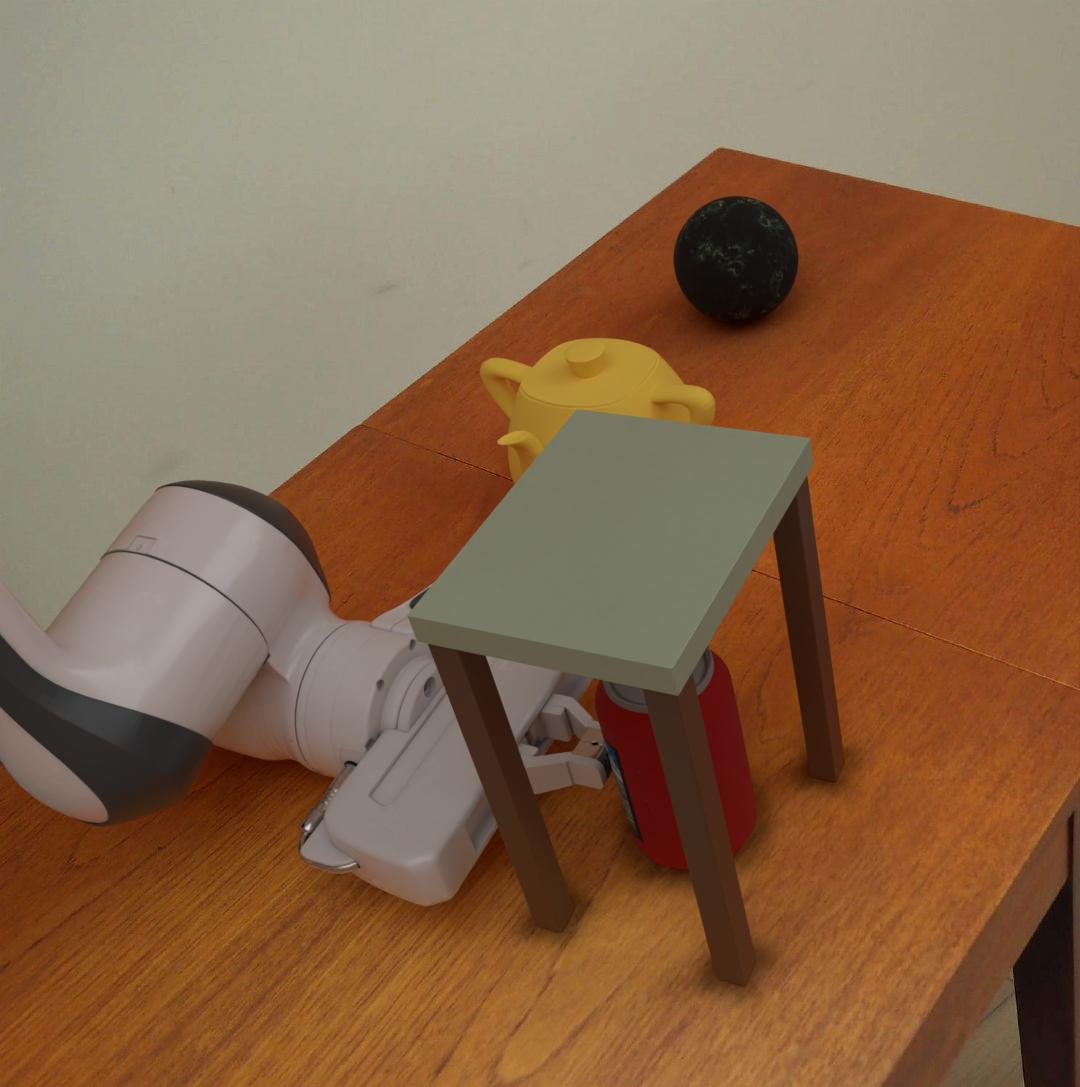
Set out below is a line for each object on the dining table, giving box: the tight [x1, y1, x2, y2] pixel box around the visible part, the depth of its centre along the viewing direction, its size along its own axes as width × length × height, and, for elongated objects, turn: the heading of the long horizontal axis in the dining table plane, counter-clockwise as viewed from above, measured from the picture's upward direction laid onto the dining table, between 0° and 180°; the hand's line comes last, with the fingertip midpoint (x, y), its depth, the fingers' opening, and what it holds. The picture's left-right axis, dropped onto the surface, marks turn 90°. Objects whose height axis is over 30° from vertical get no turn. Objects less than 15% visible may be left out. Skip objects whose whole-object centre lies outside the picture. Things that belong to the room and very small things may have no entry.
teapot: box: [479, 337, 716, 486], centre depth 93 cm, size 14×14×12 cm
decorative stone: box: [672, 195, 799, 325], centre depth 110 cm, size 10×10×10 cm
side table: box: [407, 409, 846, 988], centre depth 65 cm, size 15×12×22 cm
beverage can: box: [594, 645, 758, 870], centre depth 69 cm, size 7×7×12 cm
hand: (614, 758), depth 70 cm, fingers closed
